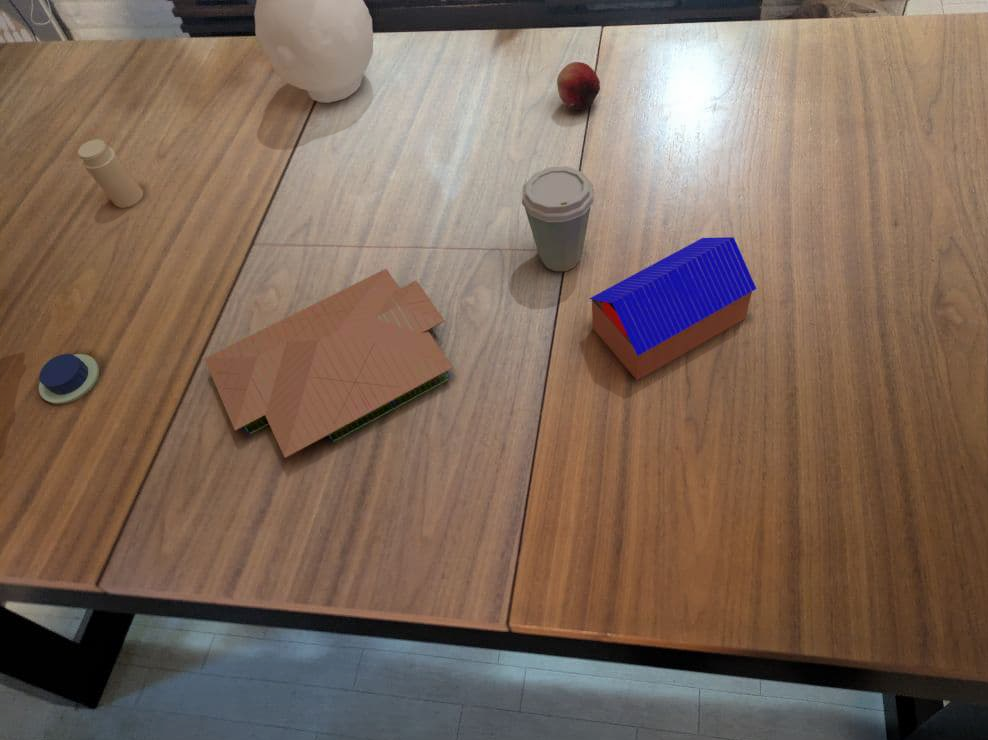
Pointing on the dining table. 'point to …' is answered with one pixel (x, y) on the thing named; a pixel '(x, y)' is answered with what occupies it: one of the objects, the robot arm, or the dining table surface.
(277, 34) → the vase
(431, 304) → the brown flat stepped piece
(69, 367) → the lid
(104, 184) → the jar
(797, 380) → the dining table surface
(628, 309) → the house
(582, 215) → the disposable coffee cup
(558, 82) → the fruit
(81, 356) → the coaster
